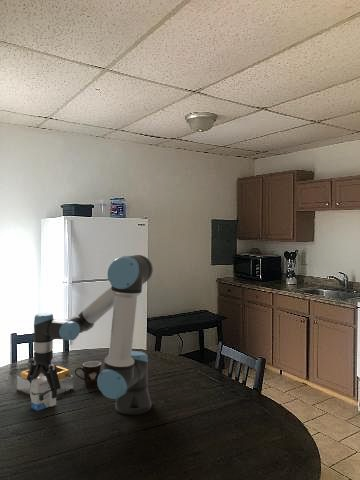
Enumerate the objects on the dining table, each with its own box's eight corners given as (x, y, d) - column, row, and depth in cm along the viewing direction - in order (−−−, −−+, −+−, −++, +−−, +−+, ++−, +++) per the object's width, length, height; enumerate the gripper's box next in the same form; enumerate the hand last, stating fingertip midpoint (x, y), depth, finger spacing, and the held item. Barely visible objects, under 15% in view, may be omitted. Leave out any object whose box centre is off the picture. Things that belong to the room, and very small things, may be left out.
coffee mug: (103, 381, 195) (103, 361, 195) (97, 388, 186) (98, 367, 186) (80, 380, 196) (80, 360, 196) (73, 387, 187) (74, 366, 187)
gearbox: (73, 388, 186) (73, 370, 186) (43, 400, 173) (43, 380, 172) (41, 377, 199) (41, 360, 199) (12, 387, 186) (12, 369, 186)
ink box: (37, 411, 162) (37, 383, 161) (30, 408, 165) (30, 380, 164) (55, 404, 168) (55, 377, 168) (48, 401, 171) (48, 374, 171)
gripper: (69, 353, 162) (69, 405, 162) (33, 343, 176) (33, 391, 176) (54, 358, 156) (54, 412, 156) (18, 347, 170) (18, 397, 170)
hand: (43, 401), depth 166 cm, fingers open, 12 cm apart
